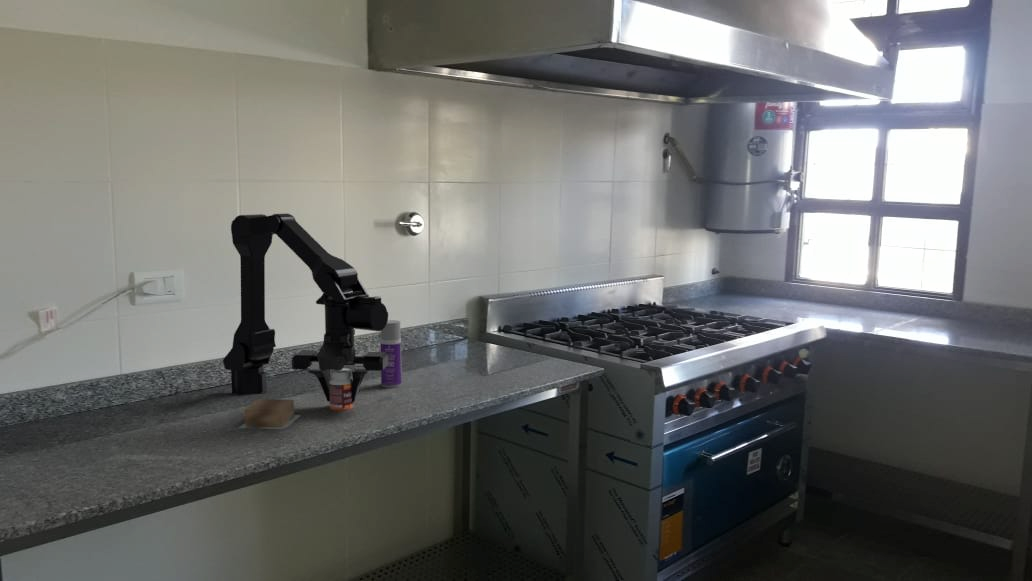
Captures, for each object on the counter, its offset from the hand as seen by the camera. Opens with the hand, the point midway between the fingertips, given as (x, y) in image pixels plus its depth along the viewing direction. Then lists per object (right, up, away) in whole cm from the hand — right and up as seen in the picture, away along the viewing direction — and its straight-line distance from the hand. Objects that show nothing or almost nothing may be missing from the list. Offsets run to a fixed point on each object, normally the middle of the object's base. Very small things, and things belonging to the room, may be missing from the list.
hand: (341, 401), depth 164 cm
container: (+7, +1, +21) cm, 22 cm away
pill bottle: (0, -2, 0) cm, 2 cm away
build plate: (-8, -3, -9) cm, 13 cm away
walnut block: (-11, -2, -10) cm, 16 cm away
